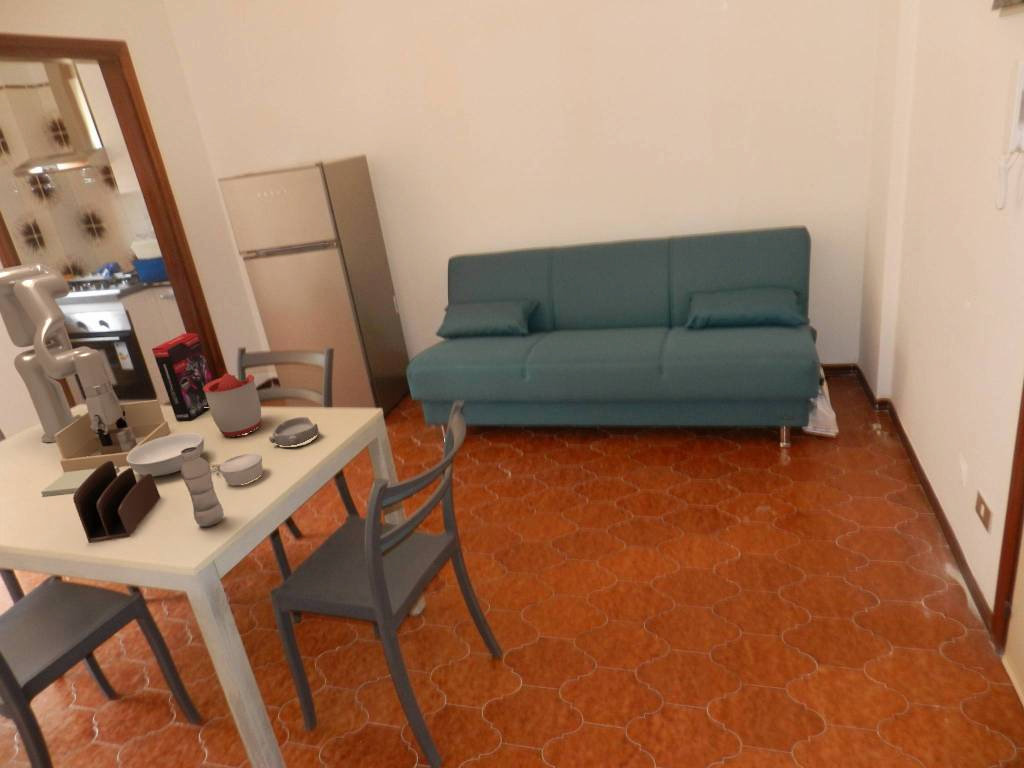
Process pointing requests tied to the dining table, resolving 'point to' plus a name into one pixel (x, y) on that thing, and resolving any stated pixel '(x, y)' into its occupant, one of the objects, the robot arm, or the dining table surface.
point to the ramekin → (242, 468)
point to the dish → (294, 431)
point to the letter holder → (114, 502)
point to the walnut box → (118, 441)
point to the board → (69, 482)
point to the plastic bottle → (201, 488)
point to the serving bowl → (163, 454)
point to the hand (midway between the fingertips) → (116, 439)
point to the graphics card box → (184, 375)
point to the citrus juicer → (234, 404)
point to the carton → (81, 438)
